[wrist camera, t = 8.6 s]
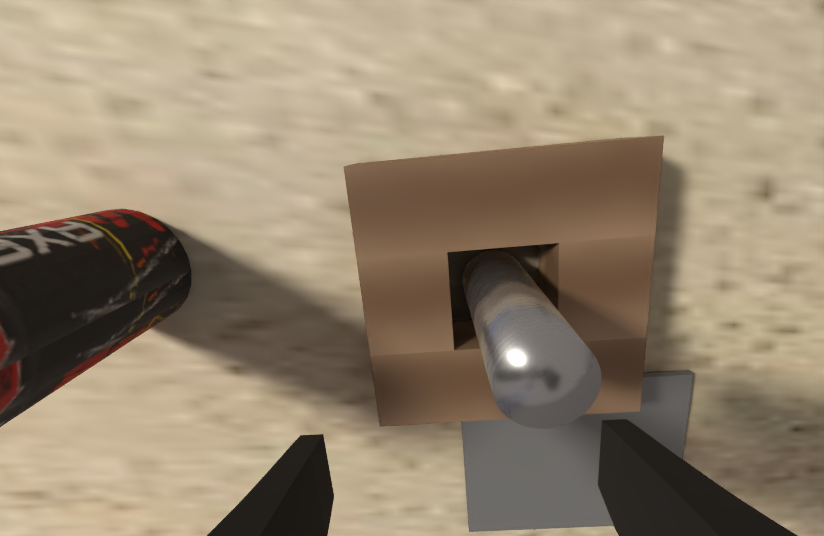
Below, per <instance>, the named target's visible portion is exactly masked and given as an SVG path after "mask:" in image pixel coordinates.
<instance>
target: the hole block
mask: <svg viewBox="0 0 824 536" xmlns="http://www.w3.org/2000/svg"><path fill="white" fill-rule="evenodd" d="M663 142H664V136H650V137H630V138H617V139H606V140H596V141H586V142H575V143H565V144H554V145H544V146H534V147H523V148H513V149H503V150H492V151H482V152H471V153H461V154H451V155H440V156H430V157H419V158H409V159H399V160H388V161H378V162H367V163H357V164H353V165H348V166H344V172H345V179H346V186H347V194H348V201H349V208H350V215H351V222H352V230H353V237H354V244H355V251H356V258H357V265H358V273H359V280H360V287H361V294H362V301H363V308H364V316H365V323H366V330H367V337H368V344H369V352H370V359H371V366H372V373H373V380H374V387H375V395H376V402H377V409H378V416H379V423H380V426H395V425H412V424H430V423H447V422H464V421H482V420H499V419H509V418H508V417H507V416H506V415H505V414H503V413H502V411H501V410H500V409H499V407H498V406H497V404H496V402H495V400H494V397H493V393H492V390H491V386H490V382H489V379H488V375H487V372H486V368H485V364H484V361H483V357H482V353H481V350H480V346H479V342H478V339H477V335H476V332H475V328H474V324H473V321H472V320H467V321H453V322H452V313H451V298H450V284H449V269H448V255H447V252H456V251H468V250H480V249H492V248H504V247H516V246H528V245H539V288H540V289H541V290H542V291H543V293H544V294H545V295H546V296H547V298H548V299H549V300H550V301H551V303H552V304H553V305H554V306H555V307H556V309H557V310H558V311H559V312H560V314H561V315H562V316H563V317H564V318H565V320H566V321H567V322H568V323H569V325H570V326H571V327H572V328H573V330H574V331H575V332H576V333H577V334H578V336H579V337H580V338H581V339H582V341H583V342H584V343H585V344H586V345H587V347H588V348H589V349H590V350H591V352H592V353H593V354H594V356H595V357H596V359H597V361H598V363H599V366H600V369H601V387H600V390H599V393H598V396H597V398H596V400H595V401H594V403H593V404H592V406H591V407H590V408H589V409H588V410H587V411H586V412H585V413H584V414H583V415H586V414H603V413H620V412H638V411H640V405H641V393H642V382H643V370H644V359H645V347H646V336H647V325H648V313H649V302H650V290H651V279H652V267H653V256H654V245H655V233H656V222H657V210H658V199H659V187H660V176H661V165H662V153H663Z"/></svg>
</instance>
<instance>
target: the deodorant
mask: <svg viewBox="0 0 824 536" xmlns="http://www.w3.org/2000/svg"><path fill="white" fill-rule="evenodd" d="M190 286H191V268H190V264H189V260H188V257H187V254H186V252H185V250H184V249H183V247H182V245H181V243H180V241H179V240H178V239H177V238H176V237H175V235H174V234H173V233H172V232H171V231H170V230H169V229H168V228H167V227H166V226H164V225H163V224H162V223H160V222H159V221H158V220H156V219H155V218H153V217H150V216H148V215H146V214H144V213H141V212H139V211H133V210H127V209H115V210H106V211H101V212H96V213H91V214H86V215H81V216H75V217H70V218H65V219H60V220H55V221H50V222H45V223H40V224H35V225H30V226H25V227H20V228H15V229H10V230H4V231H0V427H1V426H2V425H4V424H5V423H7V422H8V421H10V420H11V419H13V418H14V417H16V416H18V415H19V414H21V413H22V412H24V411H25V410H27V409H28V408H30V407H31V406H33V405H34V404H36V403H37V402H39V401H40V400H42V399H43V398H45V397H46V396H48V395H49V394H51V393H52V392H54V391H56V390H57V389H59V388H60V387H62V386H63V385H65V384H66V383H68V382H69V381H71V380H72V379H74V378H75V377H77V376H78V375H80V374H81V373H83V372H84V371H86V370H87V369H89V368H90V367H92V366H94V365H95V364H97V363H98V362H100V361H101V360H103V359H104V358H106V357H107V356H109V355H110V354H112V353H113V352H115V351H116V350H118V349H119V348H121V347H122V346H124V345H125V344H127V343H128V342H130V341H132V340H133V339H135V338H136V337H138V336H139V335H141V334H142V333H144V332H145V331H147V330H148V329H150V328H151V327H153V326H154V325H156V324H157V323H159V322H160V321H162V320H163V319H165V318H166V317H168V316H170V315H171V314H172V313H173V312H175V311H176V310H177V309H179V308H180V307H181V305H182V304H183V302H184V301H185V299H186V298H187V296H188V293H189V289H190Z"/></svg>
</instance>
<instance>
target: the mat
mask: <svg viewBox="0 0 824 536" xmlns="http://www.w3.org/2000/svg"><path fill="white" fill-rule="evenodd" d="M692 382H693V374H692V373H691V372H690V371H689V370H683V371H668V372H652V373H643V382H642V393H641V405H640V411H638V412H620V413H603V414H586V415H581V416H580V417H579V418H577V419H576V420H574V421H572V422H570V423H568V424H565V425H562V426H559V427H554V428H547V429H537V428H530V427H526V426H523V425H520V424H518V423H516V422H514V421H512V420H511V419H499V420H482V421H464V422H462V435H463V450H464V465H465V479H466V494H467V509H468V524H469V532H475V531H499V530H523V529H547V528H571V527H595V526H614V525H613V522H612V520H611V517H610V515H609V512H608V510H607V508H606V505H605V502H604V500H603V497H602V495H601V492H600V489H599V487H598V473H599V457H600V442H601V426H602V420H616V419H627V420H629V421H630V422H632V423H633V424H635V425H636V426H637V427H639V428H640V429H642V430H643V431H644V432H646V433H647V434H648V435H650V436H651V437H652V438H654V439H655V440H657V441H658V442H659V443H661V444H662V445H663V446H665V447H666V448H667V449H669V450H670V451H672V452H673V453H674V454H676V455H677V456H678V457H680V458H681V459H683V451H684V443H685V436H686V428H687V420H688V412H689V405H690V397H691V389H692Z"/></svg>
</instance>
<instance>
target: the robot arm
mask: <svg viewBox="0 0 824 536" xmlns="http://www.w3.org/2000/svg"><path fill="white" fill-rule="evenodd" d="M598 487H599V489H600V492H601V495H602V497H603V500H604V502H605V505H606V508H607V510H608V512H609V515H610V517H611V520H612V522H613V525H614V527H615V529H616V531H617V533H618V535H619V536H797V535H796V534H794V533H792V532H791V531H789V530H787V529H786V528H784V527H783V526H781V525H779V524H778V523H776V522H774V521H773V520H771V519H770V518H768V517H767V516H765V515H763V514H762V513H760V512H759V511H757V510H756V509H754V508H753V507H751V506H750V505H748V504H746V503H745V502H743V501H742V500H740V499H739V498H737V497H736V496H734V495H733V494H731V493H730V492H728V491H727V490H725V489H724V488H722V487H721V486H719V485H718V484H717V483H715V482H714V481H712V480H711V479H709V478H708V477H706V476H705V475H704V474H702V473H701V472H699V471H698V470H697V469H695V468H694V467H692V466H691V465H690V464H688V463H687V462H685V461H684V460H683V459H681V458H680V457H678V456H677V455H676V454H674V453H673V452H672V451H670V450H669V449H667V448H666V447H665V446H663V445H662V444H661V443H659V442H658V441H657V440H655V439H654V438H652V437H651V436H650V435H648V434H647V433H646V432H644V431H643V430H642V429H640V428H639V427H637V426H636V425H635V424H633V423H632V422H630V421H629V420H627V419H616V420H602V426H601V442H600V457H599V473H598ZM333 499H334V493H333V488H332V482H331V476H330V471H329V465H328V459H327V454H326V448H325V442H324V437H323V434H320V435H301V436H300V437H299V438H298V439H297V440H296V441H295V442H294V443H293V444H292V445H291V446H290V448H289V449H288V450H287V451H286V452H285V453H284V454H283V455H282V457H281V458H280V459H279V460H278V461H277V462H276V463H275V465H274V466H273V467H272V468H271V469H270V470H269V471H268V472H267V473H266V475H265V476H264V477H263V478H262V479H261V480H260V481H259V482H258V483H257V484H256V486H255V487H254V488H253V489H252V490H251V491H250V492H249V493H248V494H247V495H246V496H245V497H244V499H243V500H242V501H241V502H240V503H239V504H238V505H237V506H236V507H235V508H234V509H233V510H232V511H231V512H230V513H229V514H228V515H227V516H226V517H225V518H224V519H223V520H222V521H221V522H220V523H219V524H218V525H217V526H216V527H215V528H214V529H213V530H212V531H211V532H210V533H209V534H208V535H207V536H327V534H328V529H329V523H330V517H331V511H332V505H333Z"/></svg>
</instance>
